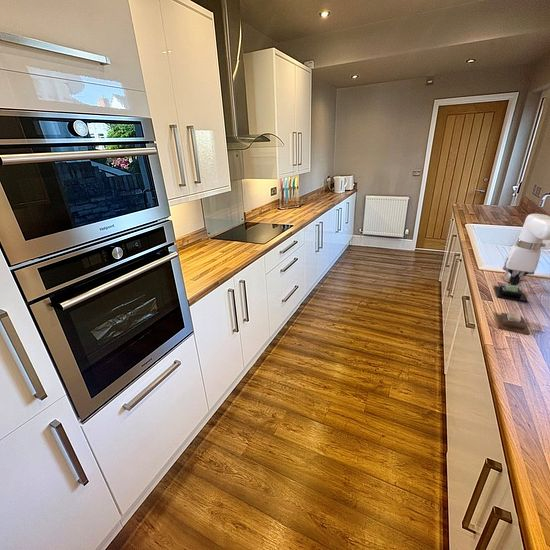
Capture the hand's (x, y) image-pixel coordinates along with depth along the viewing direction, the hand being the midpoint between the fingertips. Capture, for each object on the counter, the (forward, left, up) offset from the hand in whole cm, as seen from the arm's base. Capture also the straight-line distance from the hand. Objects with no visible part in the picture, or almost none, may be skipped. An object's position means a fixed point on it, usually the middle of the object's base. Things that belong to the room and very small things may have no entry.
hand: (512, 284), depth 126 cm
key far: (0, 0, -3) cm, 3 cm away
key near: (+3, +27, -3) cm, 28 cm away
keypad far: (0, 0, -6) cm, 6 cm away
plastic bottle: (-3, -16, -6) cm, 17 cm away
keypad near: (+3, +27, -6) cm, 28 cm away
